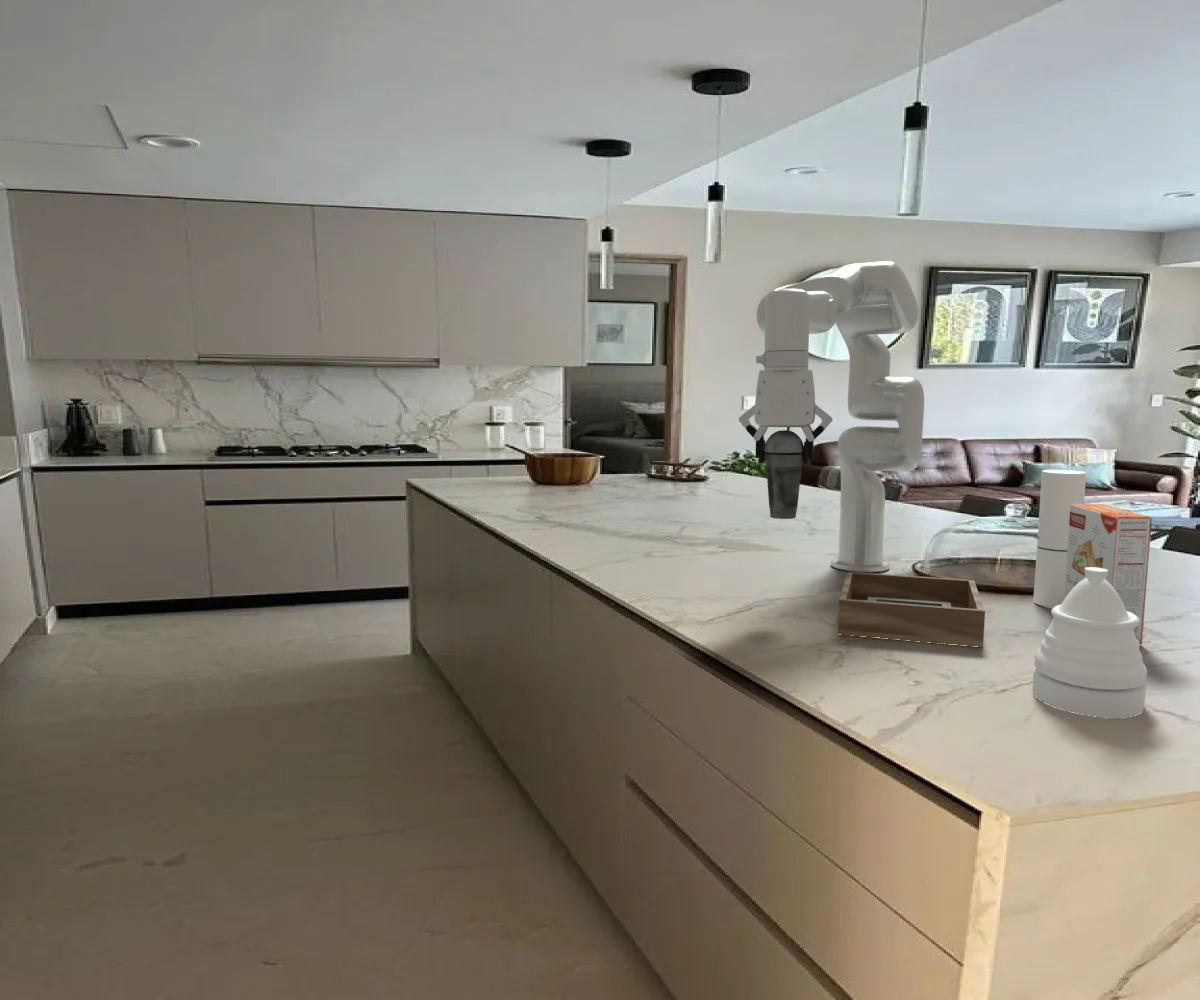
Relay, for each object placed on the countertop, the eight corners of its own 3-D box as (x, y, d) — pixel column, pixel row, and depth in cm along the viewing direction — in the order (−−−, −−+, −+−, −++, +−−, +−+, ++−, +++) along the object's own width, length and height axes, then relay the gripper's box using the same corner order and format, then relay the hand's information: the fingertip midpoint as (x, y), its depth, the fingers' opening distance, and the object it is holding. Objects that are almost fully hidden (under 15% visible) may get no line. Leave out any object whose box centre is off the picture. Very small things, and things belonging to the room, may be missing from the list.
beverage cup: (757, 514, 156) (759, 404, 153) (796, 513, 156) (798, 403, 153) (768, 520, 149) (770, 405, 146) (809, 519, 149) (811, 405, 146)
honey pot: (1144, 726, 103) (1157, 582, 101) (1027, 706, 110) (1036, 570, 108) (1143, 693, 114) (1155, 562, 112) (1036, 676, 121) (1045, 552, 118)
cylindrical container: (1072, 600, 162) (1081, 470, 158) (1079, 610, 155) (1090, 474, 151) (1030, 598, 164) (1039, 469, 160) (1036, 607, 157) (1045, 473, 154)
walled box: (846, 602, 161) (847, 571, 161) (972, 612, 154) (974, 580, 153) (838, 635, 141) (839, 600, 140) (982, 648, 134) (985, 611, 133)
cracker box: (1059, 621, 148) (1068, 502, 145) (1095, 621, 148) (1104, 502, 145) (1104, 646, 134) (1115, 515, 132) (1143, 646, 134) (1154, 515, 131)
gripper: (732, 362, 148) (731, 463, 150) (836, 361, 142) (832, 466, 145) (740, 363, 155) (739, 459, 157) (839, 361, 149) (836, 462, 152)
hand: (784, 462), depth 151 cm, fingers closed on beverage cup, 7 cm apart
